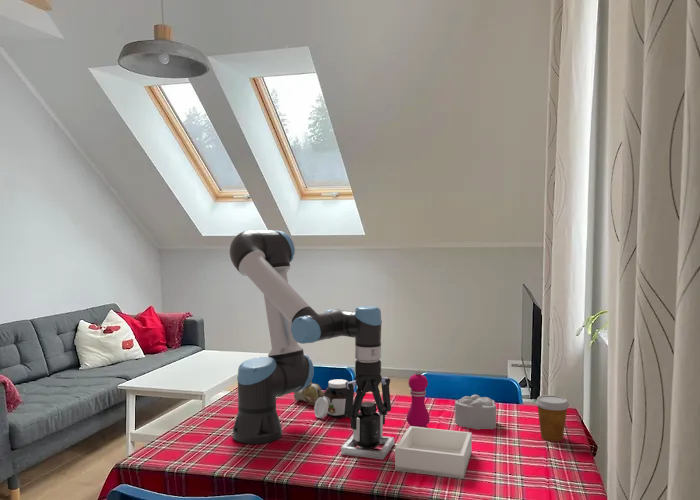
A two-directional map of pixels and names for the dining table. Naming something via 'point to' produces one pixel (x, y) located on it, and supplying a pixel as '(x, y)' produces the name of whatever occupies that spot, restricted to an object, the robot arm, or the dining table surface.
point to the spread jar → (332, 400)
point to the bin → (434, 452)
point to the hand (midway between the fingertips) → (367, 437)
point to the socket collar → (368, 453)
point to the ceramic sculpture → (309, 393)
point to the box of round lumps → (475, 412)
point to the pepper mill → (418, 401)
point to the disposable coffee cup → (552, 416)
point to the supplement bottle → (369, 425)
